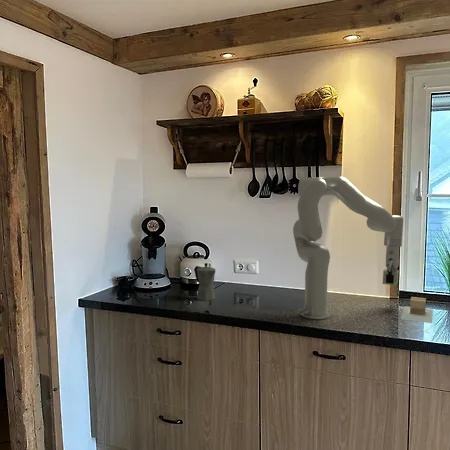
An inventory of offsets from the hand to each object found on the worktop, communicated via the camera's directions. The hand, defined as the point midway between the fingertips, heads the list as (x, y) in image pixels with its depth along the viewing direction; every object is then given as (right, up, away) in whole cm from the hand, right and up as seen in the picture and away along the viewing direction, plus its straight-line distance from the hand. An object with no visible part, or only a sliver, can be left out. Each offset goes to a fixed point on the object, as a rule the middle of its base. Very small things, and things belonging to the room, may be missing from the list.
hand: (390, 281), depth 201 cm
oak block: (+10, -13, -5) cm, 17 cm away
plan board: (+9, -14, -7) cm, 18 cm away
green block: (0, -1, 0) cm, 1 cm away
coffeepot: (-85, -11, +21) cm, 89 cm away
